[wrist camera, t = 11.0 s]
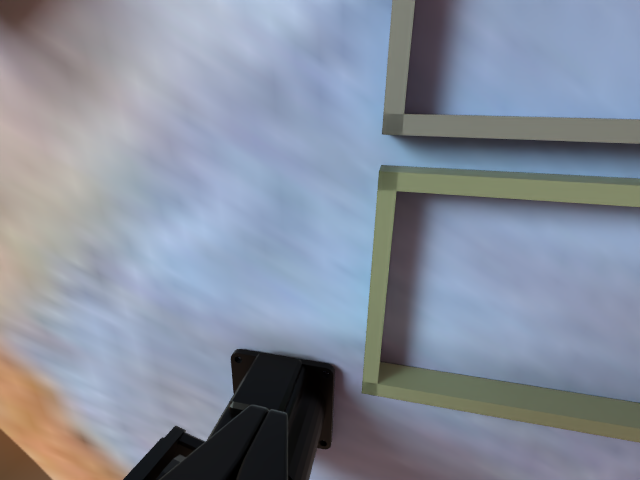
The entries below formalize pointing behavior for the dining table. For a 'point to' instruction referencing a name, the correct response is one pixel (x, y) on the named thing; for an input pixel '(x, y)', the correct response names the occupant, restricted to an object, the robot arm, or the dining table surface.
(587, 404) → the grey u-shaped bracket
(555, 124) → the olive u-shaped frame
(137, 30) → the dining table surface
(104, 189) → the dining table surface
